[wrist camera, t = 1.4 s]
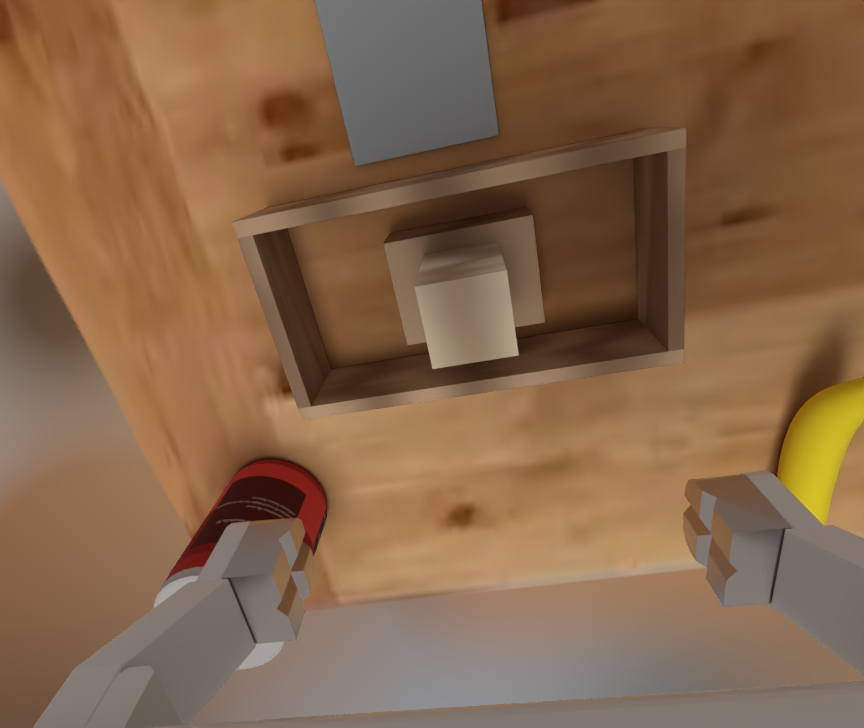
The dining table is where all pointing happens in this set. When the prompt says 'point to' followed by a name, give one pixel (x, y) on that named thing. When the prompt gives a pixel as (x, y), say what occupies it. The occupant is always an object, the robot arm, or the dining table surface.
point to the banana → (820, 444)
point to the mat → (409, 74)
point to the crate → (514, 232)
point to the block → (466, 306)
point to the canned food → (247, 502)
